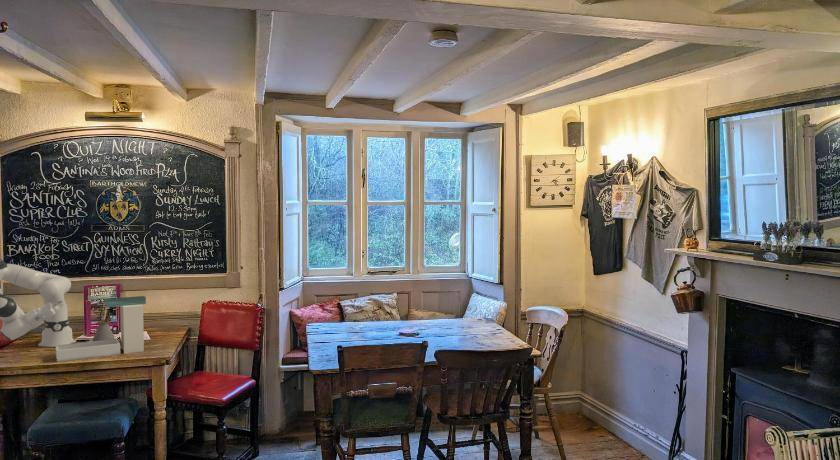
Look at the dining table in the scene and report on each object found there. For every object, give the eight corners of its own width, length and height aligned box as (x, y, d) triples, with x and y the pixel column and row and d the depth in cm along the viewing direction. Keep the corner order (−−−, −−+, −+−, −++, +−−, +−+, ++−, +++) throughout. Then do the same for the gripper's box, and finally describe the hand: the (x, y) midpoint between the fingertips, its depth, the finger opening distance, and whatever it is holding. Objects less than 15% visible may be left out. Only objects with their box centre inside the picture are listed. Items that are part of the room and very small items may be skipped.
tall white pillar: (121, 348, 348) (120, 303, 346) (140, 346, 353) (139, 302, 351) (124, 353, 338) (123, 307, 336) (143, 351, 343) (143, 305, 341)
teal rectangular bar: (105, 306, 339) (105, 298, 338) (144, 302, 349) (144, 295, 349) (106, 307, 335) (106, 300, 335) (145, 304, 346) (145, 297, 345)
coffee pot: (111, 344, 357) (111, 319, 356) (90, 345, 354) (89, 320, 353) (121, 336, 377) (121, 312, 377) (101, 336, 375) (100, 312, 374)
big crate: (55, 356, 331) (55, 345, 330) (117, 349, 347) (117, 338, 347) (57, 362, 320) (56, 350, 319) (120, 354, 336) (120, 343, 336)
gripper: (32, 316, 309) (59, 300, 315) (31, 309, 326) (57, 295, 332) (39, 326, 311) (66, 310, 317) (38, 319, 328) (64, 304, 335)
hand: (61, 302), depth 325 cm, fingers open, 8 cm apart
